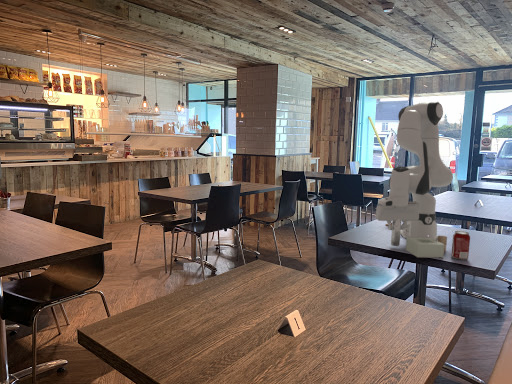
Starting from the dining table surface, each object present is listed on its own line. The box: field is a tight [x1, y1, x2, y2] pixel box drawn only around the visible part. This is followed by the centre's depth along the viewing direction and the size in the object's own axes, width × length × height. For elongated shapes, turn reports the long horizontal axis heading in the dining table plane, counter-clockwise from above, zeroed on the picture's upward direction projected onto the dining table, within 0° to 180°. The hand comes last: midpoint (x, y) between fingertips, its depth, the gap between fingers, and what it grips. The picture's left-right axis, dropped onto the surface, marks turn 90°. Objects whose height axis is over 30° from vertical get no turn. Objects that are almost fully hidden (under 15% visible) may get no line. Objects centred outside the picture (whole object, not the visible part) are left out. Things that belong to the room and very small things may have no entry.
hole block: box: [405, 238, 445, 258], centre depth 182 cm, size 12×12×6 cm
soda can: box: [450, 230, 471, 261], centre depth 175 cm, size 7×7×12 cm
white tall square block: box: [390, 217, 402, 247], centre depth 189 cm, size 4×4×14 cm
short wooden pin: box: [436, 235, 448, 253], centre depth 187 cm, size 4×4×7 cm
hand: (396, 229), depth 189 cm, fingers closed on white tall square block, 4 cm apart
